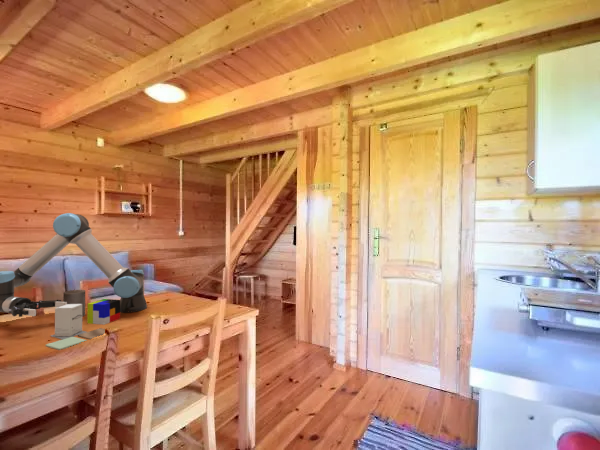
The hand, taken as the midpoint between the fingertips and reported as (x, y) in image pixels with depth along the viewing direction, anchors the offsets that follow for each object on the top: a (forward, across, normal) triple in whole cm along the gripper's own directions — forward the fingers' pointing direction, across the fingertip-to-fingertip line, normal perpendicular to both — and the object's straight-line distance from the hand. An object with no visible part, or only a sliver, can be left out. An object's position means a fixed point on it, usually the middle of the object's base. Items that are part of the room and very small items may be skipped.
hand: (51, 308), depth 139 cm
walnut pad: (+22, -3, -10) cm, 25 cm away
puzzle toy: (+9, -20, -11) cm, 24 cm away
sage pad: (+20, +8, -11) cm, 24 cm away
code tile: (+10, 0, -11) cm, 15 cm away
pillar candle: (-13, -22, -11) cm, 28 cm away
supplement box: (+10, 0, -11) cm, 15 cm away
